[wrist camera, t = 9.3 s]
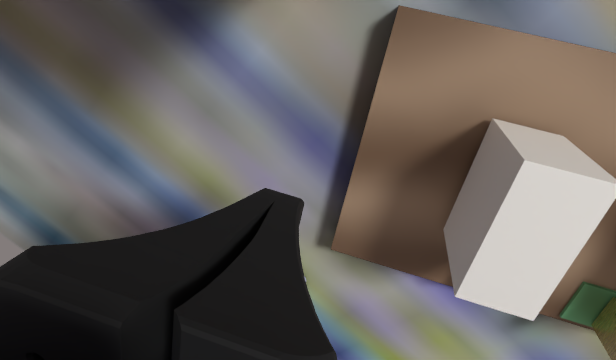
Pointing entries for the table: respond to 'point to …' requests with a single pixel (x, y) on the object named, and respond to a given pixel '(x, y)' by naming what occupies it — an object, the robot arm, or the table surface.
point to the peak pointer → (607, 328)
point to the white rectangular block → (523, 217)
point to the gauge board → (473, 143)
